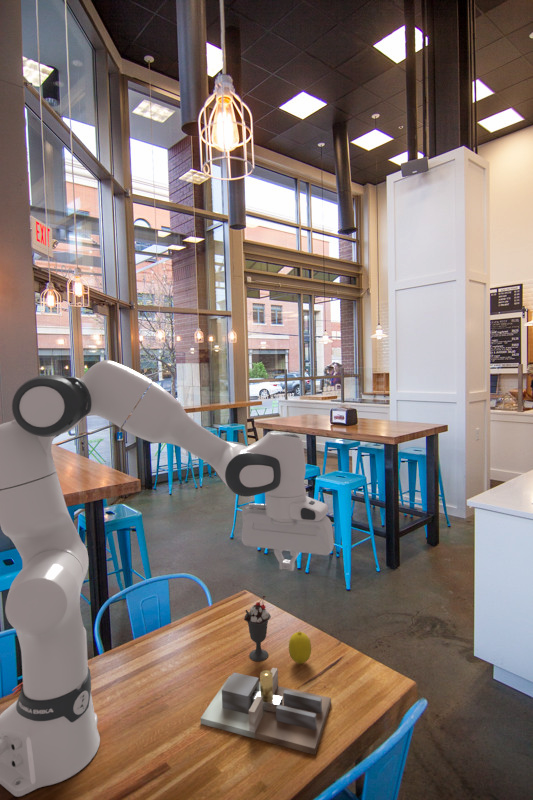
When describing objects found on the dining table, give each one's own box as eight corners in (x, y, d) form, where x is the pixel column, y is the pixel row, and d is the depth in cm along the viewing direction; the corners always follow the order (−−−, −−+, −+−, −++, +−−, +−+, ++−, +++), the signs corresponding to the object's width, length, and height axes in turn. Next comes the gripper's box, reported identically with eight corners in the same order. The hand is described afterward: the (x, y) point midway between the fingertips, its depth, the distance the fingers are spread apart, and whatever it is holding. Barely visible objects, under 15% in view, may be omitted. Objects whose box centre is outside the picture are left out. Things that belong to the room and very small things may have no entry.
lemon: (310, 672, 105) (309, 639, 104) (287, 669, 106) (286, 637, 106) (312, 658, 110) (311, 626, 110) (290, 655, 111) (290, 624, 111)
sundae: (276, 652, 113) (275, 595, 112) (262, 666, 107) (260, 606, 107) (255, 644, 116) (253, 589, 116) (240, 658, 111) (238, 600, 110)
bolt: (282, 705, 92) (281, 673, 92) (278, 713, 89) (277, 681, 89) (230, 692, 96) (229, 662, 96) (225, 700, 94) (224, 669, 93)
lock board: (331, 703, 94) (330, 679, 94) (315, 754, 81) (314, 727, 81) (229, 680, 103) (229, 658, 102) (200, 723, 89) (199, 698, 89)
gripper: (235, 506, 95) (237, 568, 96) (328, 513, 88) (329, 581, 88) (247, 499, 101) (249, 558, 102) (334, 505, 94) (336, 569, 94)
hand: (287, 569), depth 95 cm, fingers closed
